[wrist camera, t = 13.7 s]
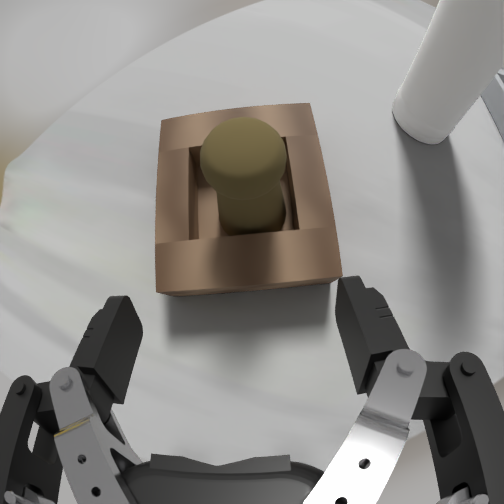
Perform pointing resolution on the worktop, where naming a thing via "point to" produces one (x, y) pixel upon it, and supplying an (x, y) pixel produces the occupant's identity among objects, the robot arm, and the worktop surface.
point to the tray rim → (496, 100)
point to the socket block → (250, 245)
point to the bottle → (451, 67)
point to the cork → (246, 175)
